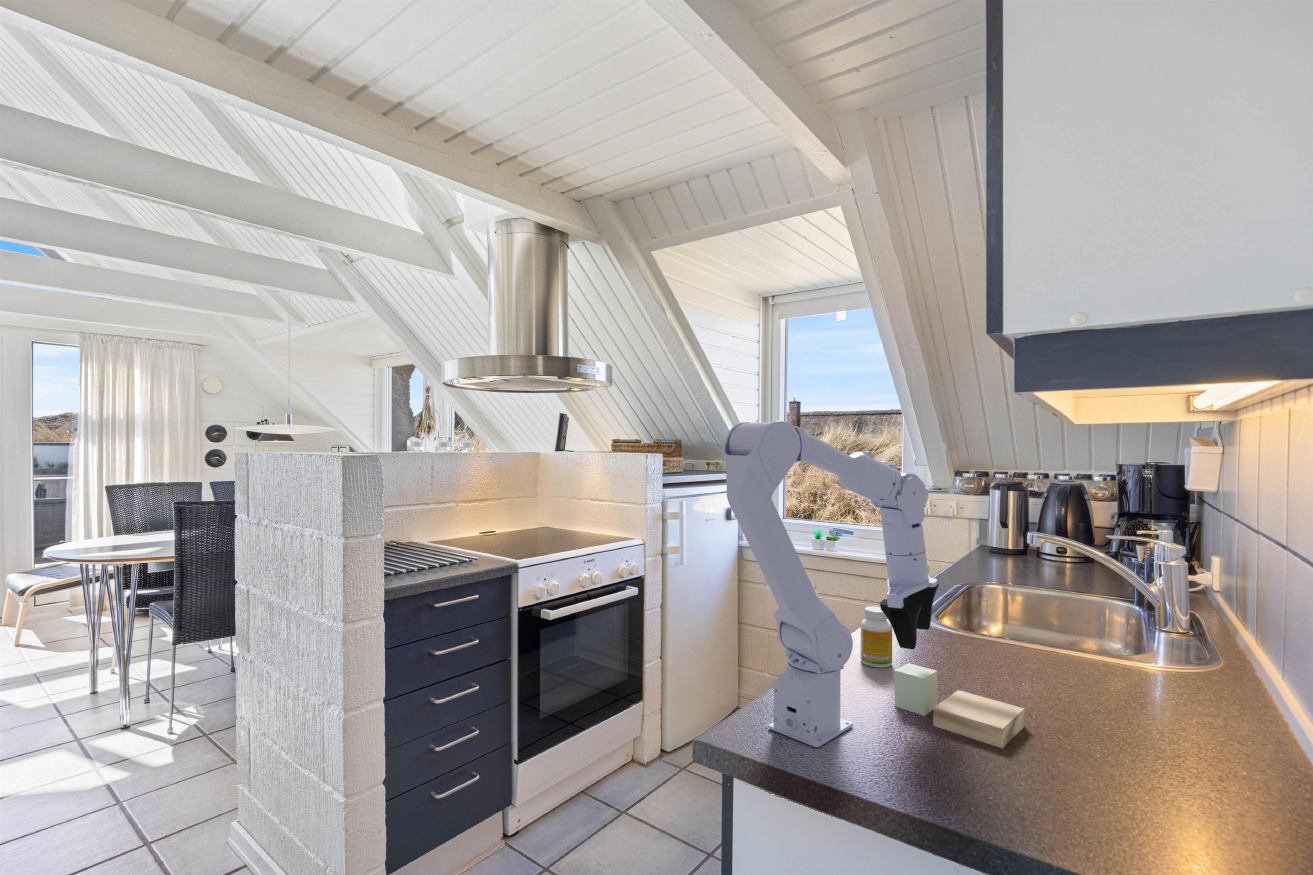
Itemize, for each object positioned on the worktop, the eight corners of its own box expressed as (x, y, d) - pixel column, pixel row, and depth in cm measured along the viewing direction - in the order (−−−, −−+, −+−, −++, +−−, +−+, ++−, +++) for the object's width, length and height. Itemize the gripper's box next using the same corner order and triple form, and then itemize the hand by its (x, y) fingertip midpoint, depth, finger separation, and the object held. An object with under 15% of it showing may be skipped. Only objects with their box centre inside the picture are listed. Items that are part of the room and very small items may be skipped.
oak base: (1002, 751, 84) (1002, 728, 84) (933, 728, 90) (933, 707, 90) (1024, 729, 90) (1024, 708, 90) (958, 709, 96) (958, 689, 96)
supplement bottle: (896, 668, 112) (896, 613, 112) (865, 668, 112) (866, 613, 112) (886, 657, 117) (886, 605, 117) (856, 657, 118) (857, 605, 117)
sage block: (924, 716, 93) (924, 678, 93) (894, 706, 96) (894, 670, 96) (937, 706, 96) (937, 670, 96) (908, 698, 100) (908, 662, 100)
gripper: (918, 566, 88) (929, 661, 89) (945, 538, 99) (954, 623, 100) (868, 563, 93) (879, 653, 93) (899, 537, 104) (908, 618, 105)
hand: (915, 637), depth 97 cm, fingers open, 7 cm apart
